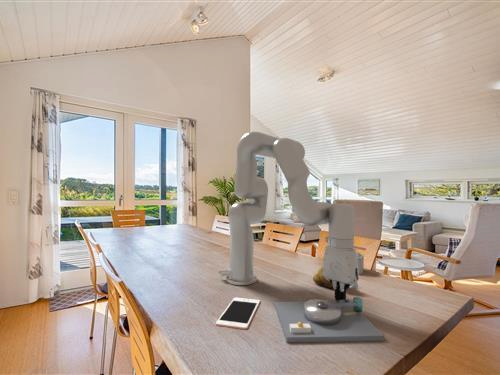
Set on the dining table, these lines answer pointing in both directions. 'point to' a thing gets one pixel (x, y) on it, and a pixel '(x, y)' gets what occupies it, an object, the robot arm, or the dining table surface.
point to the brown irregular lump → (321, 279)
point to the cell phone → (238, 313)
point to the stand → (324, 326)
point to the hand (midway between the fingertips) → (340, 302)
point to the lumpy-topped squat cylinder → (360, 262)
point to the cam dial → (329, 310)
